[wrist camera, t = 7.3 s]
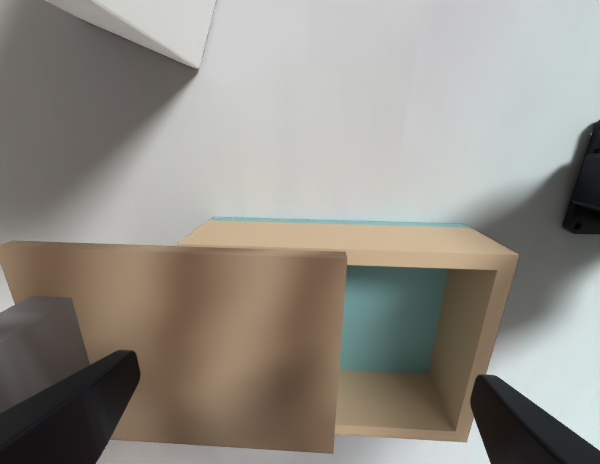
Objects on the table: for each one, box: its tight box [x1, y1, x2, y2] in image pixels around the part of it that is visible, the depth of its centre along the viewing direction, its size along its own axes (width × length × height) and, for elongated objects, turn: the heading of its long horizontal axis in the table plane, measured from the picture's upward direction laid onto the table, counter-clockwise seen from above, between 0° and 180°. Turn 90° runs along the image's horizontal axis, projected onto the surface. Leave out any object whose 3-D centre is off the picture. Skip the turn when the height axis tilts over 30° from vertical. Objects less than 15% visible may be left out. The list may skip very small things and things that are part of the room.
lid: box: [0, 241, 347, 454], centre depth 13 cm, size 16×12×5 cm
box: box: [177, 217, 520, 442], centre depth 17 cm, size 16×12×5 cm
